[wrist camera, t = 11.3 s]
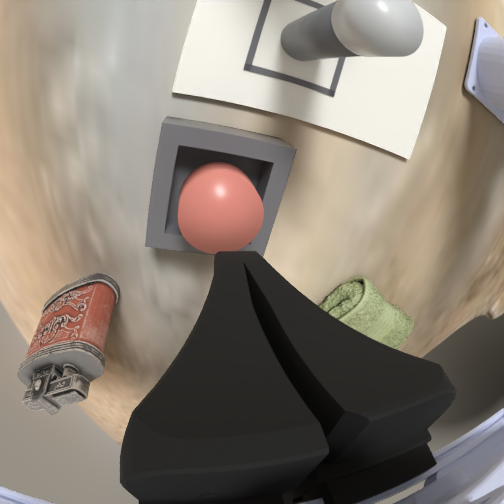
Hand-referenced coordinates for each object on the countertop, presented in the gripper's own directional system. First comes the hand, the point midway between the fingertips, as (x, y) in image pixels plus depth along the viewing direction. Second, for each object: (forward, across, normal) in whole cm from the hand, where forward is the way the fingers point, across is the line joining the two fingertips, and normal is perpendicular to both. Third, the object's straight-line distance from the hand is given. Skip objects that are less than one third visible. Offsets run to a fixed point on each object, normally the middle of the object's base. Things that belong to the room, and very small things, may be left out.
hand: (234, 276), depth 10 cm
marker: (+10, -4, -9) cm, 14 cm away
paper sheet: (+10, -7, -10) cm, 16 cm away
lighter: (+10, +11, +9) cm, 17 cm away
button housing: (+10, 0, 0) cm, 10 cm away
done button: (+7, 0, 0) cm, 7 cm away
